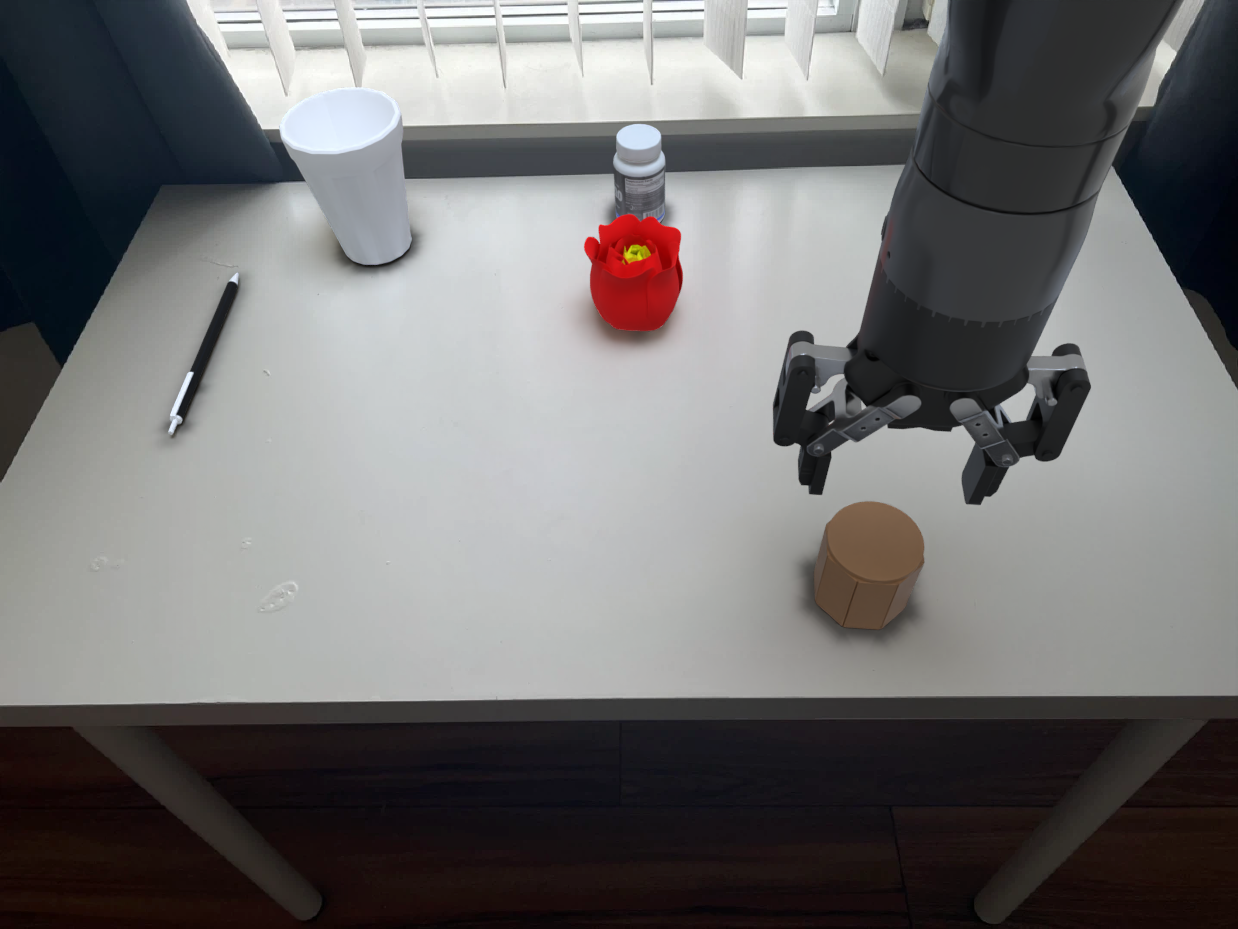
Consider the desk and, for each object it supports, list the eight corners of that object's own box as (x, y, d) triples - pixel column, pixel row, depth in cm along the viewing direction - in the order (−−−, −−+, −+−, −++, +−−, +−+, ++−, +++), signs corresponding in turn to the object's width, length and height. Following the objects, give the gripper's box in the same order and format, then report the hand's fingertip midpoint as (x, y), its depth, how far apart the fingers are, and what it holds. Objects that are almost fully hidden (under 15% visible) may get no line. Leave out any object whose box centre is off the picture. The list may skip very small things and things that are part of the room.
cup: (346, 296, 80) (299, 166, 69) (311, 236, 85) (263, 108, 75) (449, 256, 82) (419, 127, 72) (409, 201, 88) (375, 73, 78)
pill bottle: (616, 200, 87) (612, 121, 80) (665, 200, 87) (665, 120, 80) (614, 231, 84) (610, 151, 77) (665, 230, 84) (665, 150, 77)
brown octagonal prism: (899, 555, 61) (919, 503, 56) (907, 632, 57) (929, 583, 53) (812, 549, 61) (825, 498, 57) (815, 625, 58) (829, 577, 53)
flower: (576, 306, 78) (568, 230, 71) (652, 274, 80) (652, 198, 73) (621, 361, 73) (617, 285, 67) (700, 326, 75) (704, 250, 69)
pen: (167, 436, 70) (160, 427, 69) (234, 276, 82) (230, 266, 81) (178, 436, 70) (172, 427, 69) (244, 276, 82) (239, 266, 81)
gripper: (802, 308, 36) (763, 534, 48) (1176, 324, 35) (1035, 552, 47) (798, 195, 40) (763, 429, 53) (1127, 206, 39) (1011, 443, 52)
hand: (891, 487), depth 50 cm, fingers open, 8 cm apart
